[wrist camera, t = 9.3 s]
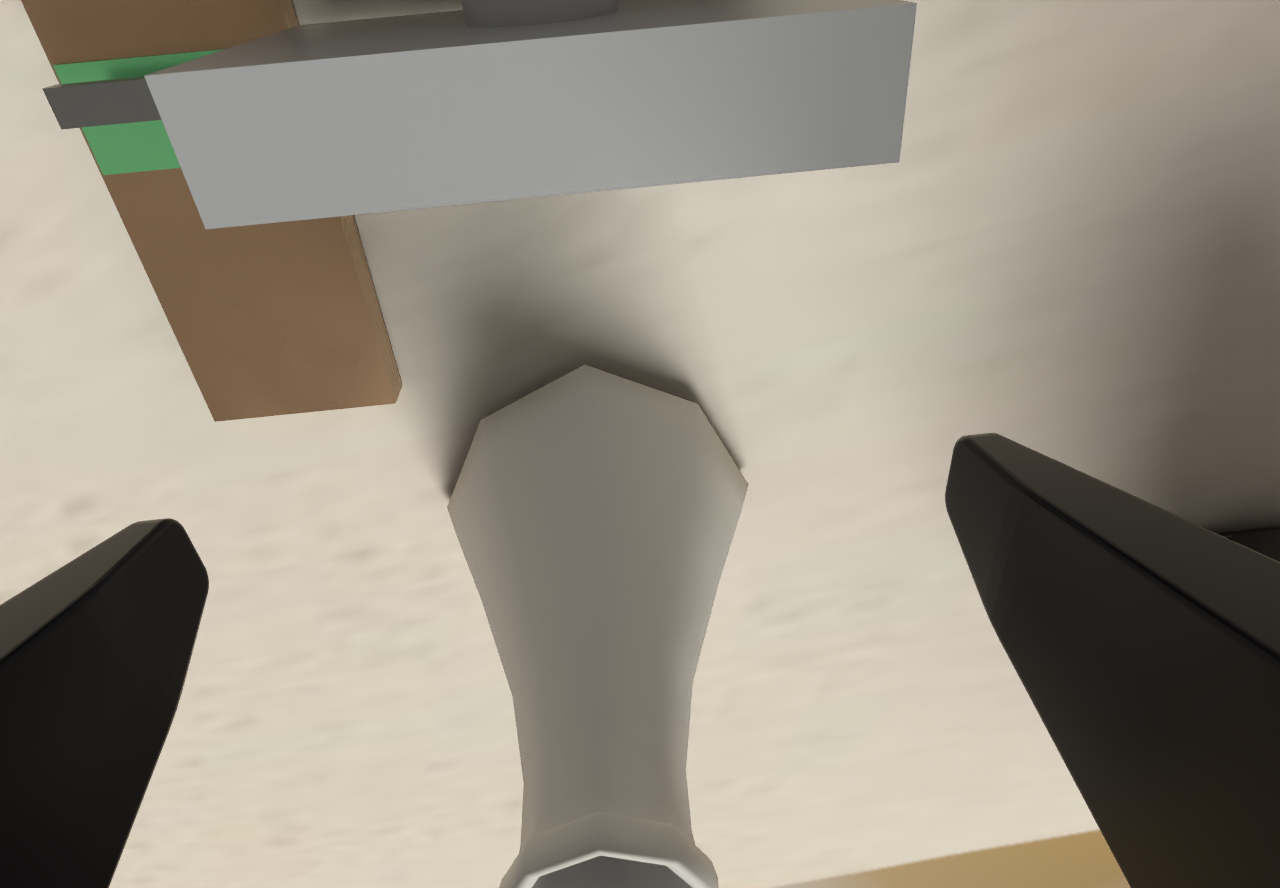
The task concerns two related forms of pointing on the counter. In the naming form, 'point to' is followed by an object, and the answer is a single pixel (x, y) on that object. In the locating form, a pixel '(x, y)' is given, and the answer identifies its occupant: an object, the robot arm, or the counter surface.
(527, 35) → the gauge plunger
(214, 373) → the gauge housing
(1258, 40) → the counter surface
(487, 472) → the flask
